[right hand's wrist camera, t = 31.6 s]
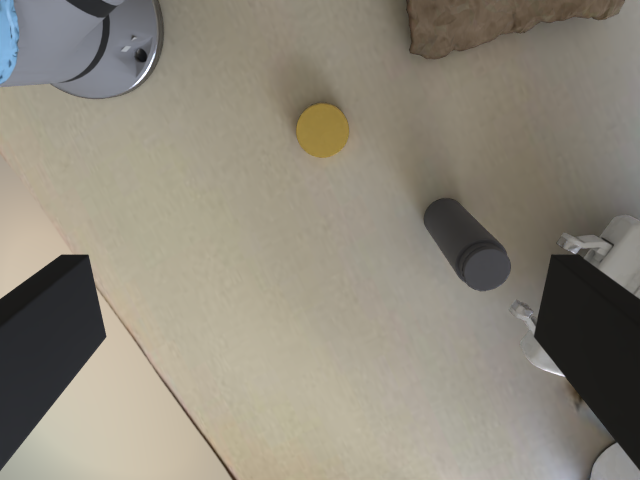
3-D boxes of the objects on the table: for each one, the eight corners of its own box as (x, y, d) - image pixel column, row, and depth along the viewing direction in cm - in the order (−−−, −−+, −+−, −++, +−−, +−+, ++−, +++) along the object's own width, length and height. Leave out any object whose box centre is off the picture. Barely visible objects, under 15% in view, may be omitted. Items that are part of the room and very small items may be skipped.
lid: (313, 163, 51) (313, 167, 49) (287, 119, 49) (286, 121, 47) (356, 138, 50) (358, 141, 48) (332, 92, 48) (332, 93, 46)
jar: (426, 197, 53) (464, 244, 39) (466, 198, 53) (519, 246, 39) (421, 235, 54) (456, 293, 40) (460, 236, 54) (509, 294, 41)
